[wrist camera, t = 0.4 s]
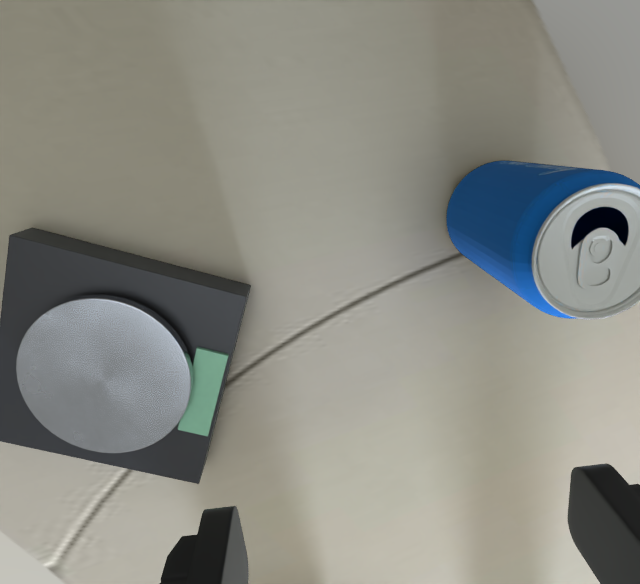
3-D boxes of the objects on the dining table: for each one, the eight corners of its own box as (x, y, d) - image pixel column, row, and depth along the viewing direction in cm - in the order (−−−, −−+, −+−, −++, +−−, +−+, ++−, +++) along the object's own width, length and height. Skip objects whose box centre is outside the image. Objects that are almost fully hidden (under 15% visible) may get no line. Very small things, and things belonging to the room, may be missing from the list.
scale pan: (-12, 373, 30) (-21, 379, 30) (95, 258, 28) (89, 261, 28) (121, 474, 33) (116, 482, 32) (228, 374, 31) (226, 380, 30)
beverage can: (548, 157, 30) (695, 167, 19) (539, 259, 32) (668, 324, 21) (444, 162, 30) (528, 176, 19) (441, 264, 32) (517, 333, 21)
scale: (251, 284, 32) (246, 297, 30) (205, 461, 36) (198, 486, 34) (32, 227, 31) (6, 235, 28) (9, 418, 35) (-16, 441, 32)
